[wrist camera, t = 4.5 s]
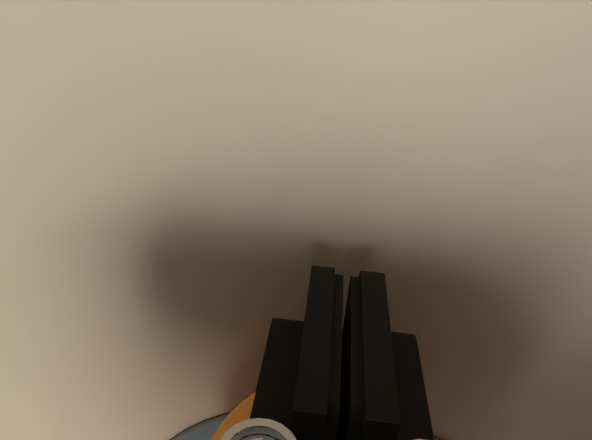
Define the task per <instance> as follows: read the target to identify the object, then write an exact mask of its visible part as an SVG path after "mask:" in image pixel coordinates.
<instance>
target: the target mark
mask: <svg viewBox="0 0 592 440" xmlns="http://www.w3.org/2000/svg"><path fill="white" fill-rule="evenodd" d="M228 414H229V413H228ZM228 414H224V415H221V416H218V417H215V418H212V419H209V420H206V421H203V422H201V423H199V424H197V425H195V426H193V427H191V428H189V429H187V430H184V431H183V432H182V433H180V434H179V435H177V436H176V437H174V438H173V439H171V440H211V438H212V437H213V435H214V433H215V432H216V430H217V429H218V427H219V426H220V424H221V423H222V422H223V421H224V419H225V418H226V417H227V416H228ZM434 440H438V439H436V438H434Z"/></svg>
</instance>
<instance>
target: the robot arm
mask: <svg viewBox="0 0 592 440" xmlns="http://www.w3.org/2000/svg"><path fill="white" fill-rule="evenodd" d="M342 316H343V275H337V274H335V268H331V267H321V266H312V268H311V276H310V283H309V291H308V299H307V306H306V314H305V321H295V320H286V319H278V318H273V319H272V322H271V326H270V331H269V335H268V340H267V344H266V349H265V353H264V357H263V362H262V366H261V371H260V375H259V380H258V384H257V389H256V393H255V397H254V402H253V406H252V411H251V415H250V419H248V420H244V421H242V422H240V423H237V424H235V425H234V426H232V427H231V428H230V429H229V430H228V431H226V432H225V433H224V435H223V436H222V438H221V439H220V440H434V437H433V432H432V426H431V420H430V414H429V408H428V403H427V397H426V391H425V385H424V380H423V374H422V368H421V362H420V356H419V351H418V345H417V340H416V337H415V335H414V334H406V333H398V332H391V329H390V320H389V310H388V301H387V292H386V282H385V275H384V273H376V272H367V271H360V274H359V277H356V276H351V277H350V282H349V289H348V296H347V303H346V310H345V317H344V324H343V331H342Z"/></svg>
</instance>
